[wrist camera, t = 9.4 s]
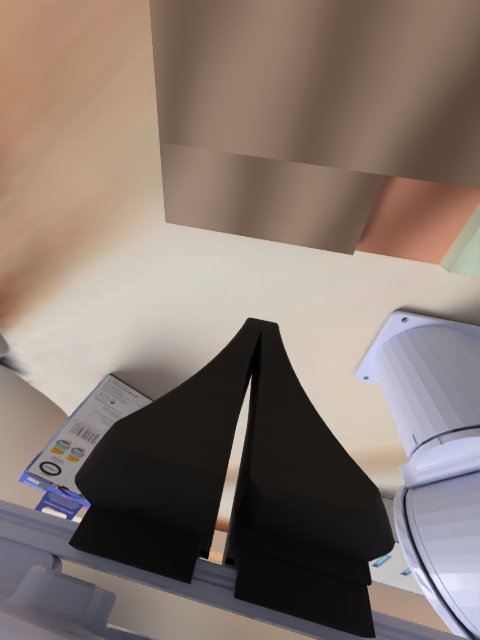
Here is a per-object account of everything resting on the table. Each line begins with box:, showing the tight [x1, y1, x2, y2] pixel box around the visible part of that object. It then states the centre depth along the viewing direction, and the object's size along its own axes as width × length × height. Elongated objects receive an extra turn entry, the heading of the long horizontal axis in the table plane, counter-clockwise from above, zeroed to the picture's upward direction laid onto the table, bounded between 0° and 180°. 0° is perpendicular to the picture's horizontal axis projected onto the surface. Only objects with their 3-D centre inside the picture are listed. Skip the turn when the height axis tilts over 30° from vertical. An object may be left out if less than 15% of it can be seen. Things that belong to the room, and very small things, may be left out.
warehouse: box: [369, 497, 426, 597], centre depth 37 cm, size 30×14×8 cm, turn 82°
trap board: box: [149, 0, 480, 277], centre depth 11 cm, size 28×16×2 cm, turn 84°
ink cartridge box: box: [19, 375, 153, 520], centre depth 28 cm, size 10×6×14 cm, turn 49°
